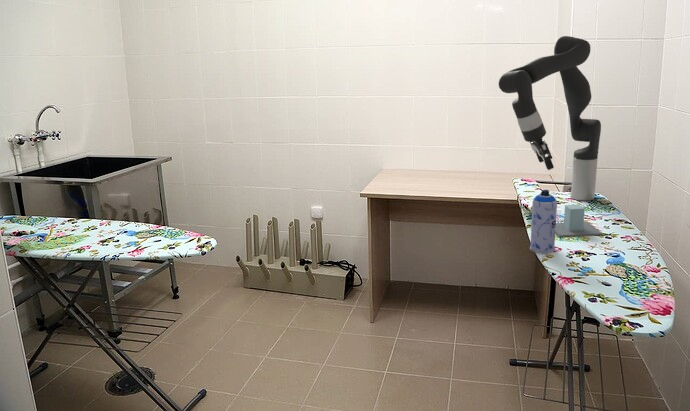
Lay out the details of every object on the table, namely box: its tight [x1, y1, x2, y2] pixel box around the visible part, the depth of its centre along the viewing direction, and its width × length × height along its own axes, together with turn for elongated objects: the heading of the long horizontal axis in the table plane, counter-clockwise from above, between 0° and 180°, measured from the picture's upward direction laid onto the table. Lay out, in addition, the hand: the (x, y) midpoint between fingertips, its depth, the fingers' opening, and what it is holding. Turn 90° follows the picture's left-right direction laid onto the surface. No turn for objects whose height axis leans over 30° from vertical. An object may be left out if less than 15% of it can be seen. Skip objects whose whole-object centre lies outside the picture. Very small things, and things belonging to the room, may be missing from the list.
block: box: [563, 204, 586, 231], centre depth 202 cm, size 5×5×8 cm
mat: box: [555, 221, 604, 238], centre depth 203 cm, size 13×15×1 cm
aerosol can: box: [529, 189, 558, 254], centre depth 185 cm, size 8×8×20 cm
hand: (546, 165), depth 201 cm, fingers open, 8 cm apart
